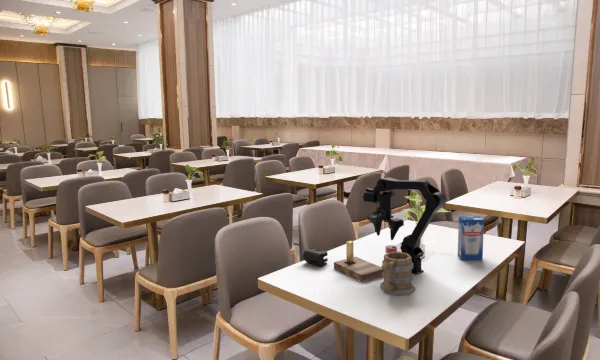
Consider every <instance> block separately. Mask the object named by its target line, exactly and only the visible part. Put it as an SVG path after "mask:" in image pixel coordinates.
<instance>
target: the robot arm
mask: <svg viewBox="0 0 600 360" xmlns="http://www.w3.org/2000/svg"><path fill="white" fill-rule="evenodd" d="M393 190H410V191H411V190H417V191H419V192H420V194H421V195H422V197H423V199H424V200H425V204H424V211H423V213H422V214H421V216H420V218H419V220H418V221H417V224H416V225H415V227H414V229H413V231H412V233H411V234H410V233H409V235H406V236H404V237H403V239H402V242H401V243H400V244H399V245H400V252H403V253H407V254H409V255H410V256H411V257H412V262H413V269H412V274H413V275H416V274H421V273H423V272H424V269H422V257H423V256H424V255H425V252H424V250H423V249H422V248H421V239H422V237H423V235H424V234H425V232H426V230H427V228H428V227H429V225H430V223H431V222H432V220H433V217H434V216H435V214H436V213H437V212H439V210H441V208H442V207H443V206H444V205H445V204H446V202H447V196H446V195H445V193H444V192H442V191H440V189H438V188H437V187H435V186H434V185H433V184H431V183H430V182H429V181H427V180H426V179H423V180H419V179H418V180H416V179H415V180H411V179H408V180H407V179H406V180H405V179H403V180H402V179H401V180H400V179H397V178H393V177H389V176H387V177H384V178H379V179H377V182H376V186H374V188H371V187H370V188H369V187H368V188H365V192H364V193H363V196H362V199H363V201H364V202H365V203H367V204H368V203H369V204H378V206H377V207H376V209H375V210H376V211H373V212H371V213H368V215H367V221H369V222H370V223H371V224H372V226H373V227H374V230H375V233H376V235H377V236H380V234H381V232H382V231H381V228H382V224H383V222H384V223H388V229H389V230H390V232H389V233H390V240H391V241H393V240H394V239H395V237H396V235H397V233H398V231H399V230H400V228H402V227H404V225H405V222H404V219H402V218H398V217H397V218H394V215H393V214H392V210H394V206H392V197H396V195H397V194H396V193H395V192H394V191H393Z"/></svg>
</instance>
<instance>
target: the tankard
mask: <svg viewBox="0 0 600 360" xmlns="http://www.w3.org/2000/svg"><path fill="white" fill-rule="evenodd" d="M380 267H382V269H384V272H382V276H381V278H382V279H383V281H382V282H381V283H380V288H381V290H382V291H383V293H384V294H385V293H386V294H390V295H393V296H407V295H410V294H412V293H414V291H415V290H416V286H415V285H414V284H413V283H412V281H413V280H414V274H412V269H413V262H412V257H411V256H410V255H409V254H407V253H403V252H402V251H390V252H387V253H385V254H383V260H382V263H381V266H380Z"/></svg>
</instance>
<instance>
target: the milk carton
mask: <svg viewBox="0 0 600 360" xmlns="http://www.w3.org/2000/svg"><path fill="white" fill-rule="evenodd" d="M484 225H485V219H484V218H482V217H481V216H480V215H479V216H473V215H471V216H468V215H467V216H458V230H457V231H458V234H457V235H458V236H457V257H458V259H459V260H460V261H463V262H464V261H470V262H471V261H473V262H474V261H476V262H477V261H481V262H482V261H483V257H484V255H483V253H484V229H485V228H484V227H485V226H484Z"/></svg>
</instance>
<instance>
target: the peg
mask: <svg viewBox="0 0 600 360" xmlns="http://www.w3.org/2000/svg"><path fill="white" fill-rule="evenodd" d="M345 245H346V247H345V248H346V259H347V264H348V265H352V264H354V257H355V256H354V241H353V240H347V241H346V244H345Z"/></svg>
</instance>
